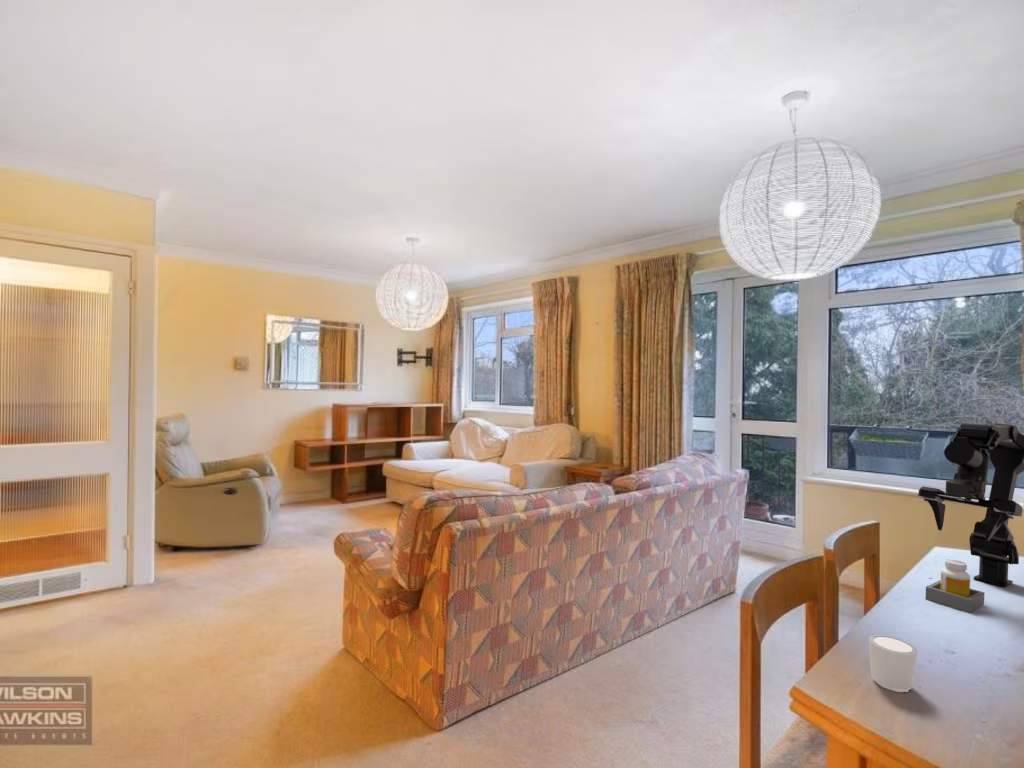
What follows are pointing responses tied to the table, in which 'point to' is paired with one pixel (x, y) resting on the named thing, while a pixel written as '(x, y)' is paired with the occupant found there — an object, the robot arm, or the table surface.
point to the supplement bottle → (955, 578)
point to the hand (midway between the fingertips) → (962, 535)
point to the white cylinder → (892, 661)
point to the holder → (955, 598)
